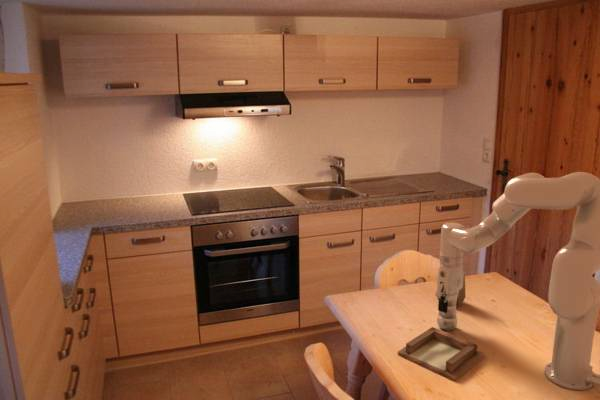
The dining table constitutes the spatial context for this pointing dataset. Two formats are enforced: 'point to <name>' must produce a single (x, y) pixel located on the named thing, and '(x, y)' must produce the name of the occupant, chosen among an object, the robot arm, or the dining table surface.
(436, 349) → the tray
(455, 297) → the plastic bottle
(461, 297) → the squeeze bottle
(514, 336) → the dining table surface
